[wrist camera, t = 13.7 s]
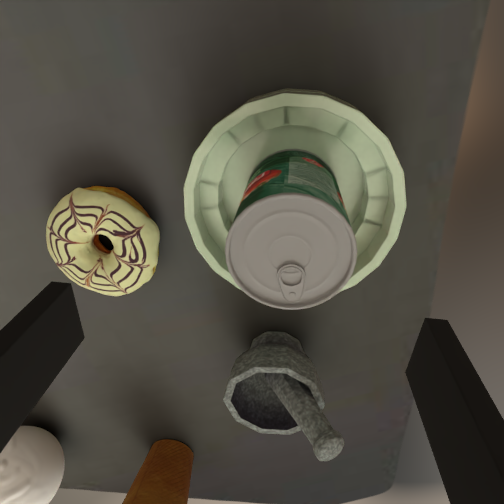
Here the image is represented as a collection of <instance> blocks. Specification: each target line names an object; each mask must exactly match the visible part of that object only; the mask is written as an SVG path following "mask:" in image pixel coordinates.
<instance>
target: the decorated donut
mask: <svg viewBox="0 0 504 504" xmlns="http://www.w3.org/2000/svg"><path fill="white" fill-rule="evenodd" d="M46 230H47V231H46V240H47V247H48V250H49V252H50V255H51V257H52V258H53V259H54V261H55V263H56V264H57V266H58V267H59V268H60V269H61V270H62V271H63V273H64V274H65V275H66V276H67V277H68V278H69V279H71V280H72V281H74V282H75V283H77V284H78V285H80V286H82V287H85V288H87V289H90V290H93V291H96V292H99V293H102V294H105V295H110V296H120V295H124V294H129V293H131V292H133V291H135V290H136V289H138V288H140V287H141V286H142V285H143V284H144V283H146V282H148V281H149V280H150V279H151V277H152V276H153V274H154V272H155V270H156V265H157V263H158V255H159V247H158V246H159V241H160V231H159V229H158V226H157V224H156V223H155V222H154V221H153V220H152V219H151V218H150V216H149V215H148V213H147V212H146V211H145V210H144V208H143V207H142V206H141V205H140V204H139V203H138V202H137V201H136V200H134V199H133V198H132V197H131V196H130V195H128V194H127V193H126V192H124V191H121V190H119V189H118V188H115V187H103V186H92V187H88V188H76V189H75V190H73V191H72V192H71V193H69V194H68V195H66V196H65V197H63V198H62V199H61V200H60V201H59V203H58V204H57V206H56V207H55V208H54V209H53V211H52V213H51V214H50V216H49V219H48V222H47V227H46ZM99 234H102V235H105V236H107V237H108V238H109V239H110V240H111V242H112V244H113V246H114V248H113V249H112V250H111V251H110V250H108V249H107V248H105V247H104V246H103V245H102V244H101V242H100V241H99Z"/></svg>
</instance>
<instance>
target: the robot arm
mask: <svg viewBox="0 0 504 504" xmlns="http://www.w3.org/2000/svg"><path fill="white" fill-rule="evenodd" d="M84 338H85V337H84V333H83V329H82V326H81V322H80V318H79V314H78V310H77V306H76V302H75V298H74V294H73V290H72V286H71V283H61V282H51V283H50V284H49V285H48V286H46V287H45V288H44V289H43V290H42V291H41V292H40V293H39V294H38V295H37V296H36V297H35V298H34V299H33V300H32V301H31V302H30V303H29V304H28V305H27V306H26V307H24V308H23V309H22V310H21V311H20V312H19V313H18V314H17V315H16V316H15V317H14V318H13V319H12V320H11V321H10V322H9V323H8V324H7V325H6V326H5V327H4V328H3V329H1V330H0V453H1V452H2V450H3V449H4V448H5V446H6V445H7V443H8V442H9V441H10V439H11V438H12V437H13V435H14V434H15V432H16V431H17V430H18V428H19V427H20V426H21V424H22V423H23V422H24V420H25V419H26V417H27V416H28V415H29V413H30V412H31V411H32V409H33V408H34V406H35V405H36V404H37V402H38V401H39V400H40V398H41V397H42V395H43V394H44V393H45V391H46V390H47V389H48V387H49V386H50V384H51V383H52V382H53V380H54V379H55V378H56V376H57V375H58V374H59V372H60V371H61V369H62V368H63V367H64V365H65V364H66V363H67V361H68V360H69V358H70V357H71V356H72V354H73V353H74V352H75V350H76V349H77V347H78V346H79V345H80V343H81V342H82V341H83V339H84ZM405 373H406V376H407V378H408V381H409V384H410V387H411V390H412V393H413V396H414V399H415V402H416V405H417V408H418V411H419V413H420V416H421V419H422V422H423V425H424V428H425V431H426V434H427V437H428V440H429V443H430V446H431V448H432V451H433V454H434V457H435V460H436V463H437V466H438V469H439V472H440V475H441V478H442V481H443V484H444V486H445V489H446V492H447V495H448V498H449V501H450V504H504V420H503V418H502V416H501V414H500V413H499V411H498V409H497V407H496V406H495V404H494V402H493V400H492V399H491V397H490V395H489V393H488V391H487V390H486V388H485V386H484V384H483V383H482V381H481V379H480V377H479V375H478V374H477V372H476V370H475V369H474V367H473V365H472V363H471V361H470V360H469V358H468V356H467V354H466V352H465V351H464V349H463V347H462V345H461V344H460V342H459V340H458V338H457V336H456V335H455V333H454V331H453V329H452V328H451V326H450V324H449V322H448V321H447V320H441V319H431V318H425V319H424V322H423V325H422V328H421V331H420V333H419V336H418V339H417V342H416V344H415V347H414V350H413V353H412V356H411V358H410V361H409V364H408V367H407V369H406V372H405Z"/></svg>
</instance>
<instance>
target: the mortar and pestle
mask: <svg viewBox="0 0 504 504" xmlns="http://www.w3.org/2000/svg"><path fill="white" fill-rule="evenodd" d="M223 401H224V403H225V404H226V406H227V408H228V409H229V411H230V412H231V414H232V416H233V417H234V419H235V421H237V422H239V423H241V424H243V425H245V426H247V427H249V428H251V429H253V430H255V431H257V432H259V433H269V434H288V435H290V434H293V433H295V432H297V431H300V430H302V431H303V432H304V434H305V435H306V437H307V438H308V439H309V441H310V442H311V444H312V445H313V451H314V453H315V455H316V456H317V458H318V459H319V460H320V461H329V460H331V459H333V458H335V457H336V456H337V455H338V454H339V453H340V452H341V450H342V448H343V446H344V440H343V438H342V436H341V435H340V433H339V432H337V431H335V430H333V428H332V427H331V425H330V423H329V422H328V420H327V419H326V417H325V415H324V414H323V412H322V409H323V407H324V405H325V402H324V392H323V389H322V385H321V382H320V379H319V377H318V375H317V372H316V370H315V368H314V365H313V363H312V361H311V360H310V359H309V357H308V356H307V355H306V354H304V351H303V349H302V346H301V344H300V342H299V340H298V339H296V338H294V337H292V336H291V335H289V334H287V333H285V332H265V333H263V334H261V335H260V336H258V337H256V338H254V339H253V342H252V345H251V348H250V349H249V350H248V351H246V352H244V353H243V354H242V355H241V356H239V357H238V358H237V359H236V361H235V363H234V366H233V368H232V371H231V374H230V377H229V381H228V384H227V387H226V390H225V395H224V400H223Z"/></svg>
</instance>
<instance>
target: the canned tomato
mask: <svg viewBox="0 0 504 504" xmlns="http://www.w3.org/2000/svg"><path fill="white" fill-rule="evenodd" d="M225 257H226V264H227V267H228V270H229V273H230V274H231V276H232V278H233V280H234V281H235V283H236V284H237V285H238V286H239V287H240V289H241V290H242V291H243V292H245V293H246V294H247V295H248V296H250V297H251V298H253V299H254V300H256V301H258V302H260V303H262V304H265V305H268V306H270V307H274V308H279V309H291V310H297V309H304V308H309V307H313V306H316V305H319V304H321V303H323V302H325V301H327V300H329V299H331V298H332V297H333V296H335V295H336V294H337V293H339V292H340V291H341V289H342V288H343V287H344V286H345V285H346V284H347V282H348V281H349V279H350V277H351V276H352V274H353V271H354V268H355V265H356V261H357V244H356V238H355V235H354V233H353V230H352V228H351V224H350V221H349V218H348V215H347V212H346V209H345V206H344V202H343V199H342V196H341V193H340V190H339V187H338V183H337V179H336V177H335V174H334V172H333V171H332V169H331V168H330V166H329V165H328V164H327V163H326V162H325V161H324V160H323V159H322V158H320V157H319V156H317V155H316V154H314V153H311V152H309V151H306V150H301V149H285V150H281V151H277V152H275V153H273V154H270V155H268V156H267V157H266V158H264V159H263V160H261V161H260V163H259V164H258V165H257V166H256V167H255V168H254V170H253V172H252V173H251V175H250V177H249V180H248V183H247V186H246V189H245V191H244V194H243V197H242V199H241V202H240V205H239V207H238V210H237V212H236V215H235V218H234V221H233V223H232V226H231V227H230V229H229V232H228V235H227V238H226V245H225Z"/></svg>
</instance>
